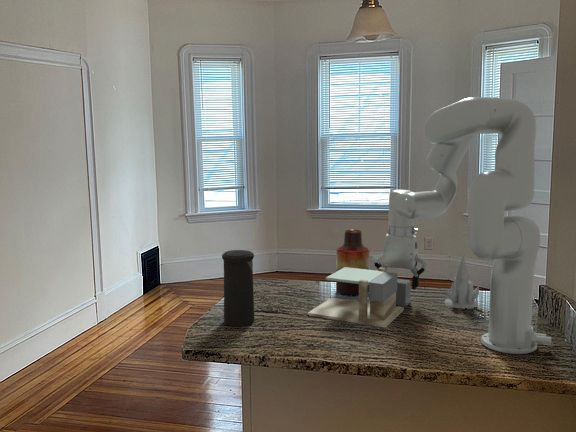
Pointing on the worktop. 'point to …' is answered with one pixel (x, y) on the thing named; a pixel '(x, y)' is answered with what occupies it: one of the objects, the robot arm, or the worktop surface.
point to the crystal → (462, 290)
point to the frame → (360, 308)
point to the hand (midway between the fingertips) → (398, 286)
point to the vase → (351, 260)
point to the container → (238, 287)
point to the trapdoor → (369, 281)
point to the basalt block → (403, 292)
